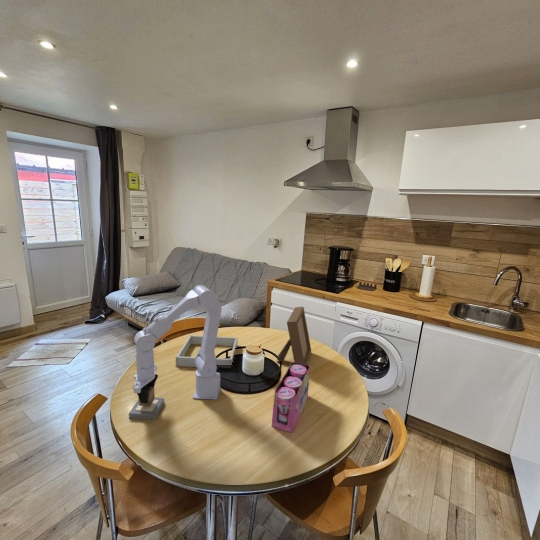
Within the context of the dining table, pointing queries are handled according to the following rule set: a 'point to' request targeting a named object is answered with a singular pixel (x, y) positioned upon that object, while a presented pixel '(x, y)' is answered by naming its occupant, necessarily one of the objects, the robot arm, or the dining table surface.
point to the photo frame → (297, 338)
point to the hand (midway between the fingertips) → (146, 398)
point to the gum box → (290, 397)
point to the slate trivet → (146, 410)
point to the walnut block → (149, 398)
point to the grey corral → (198, 340)
